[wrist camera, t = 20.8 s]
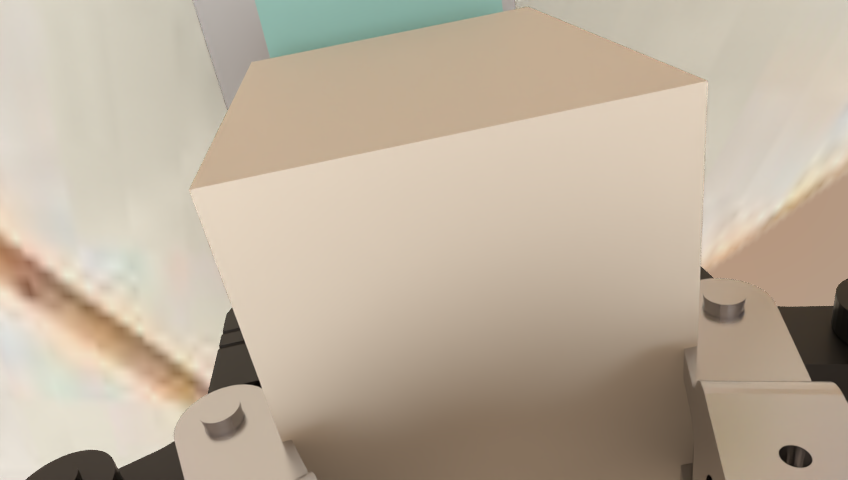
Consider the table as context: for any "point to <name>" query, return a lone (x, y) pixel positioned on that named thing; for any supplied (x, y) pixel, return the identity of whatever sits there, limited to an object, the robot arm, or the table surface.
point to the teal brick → (355, 20)
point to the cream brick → (466, 251)
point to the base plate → (239, 39)
